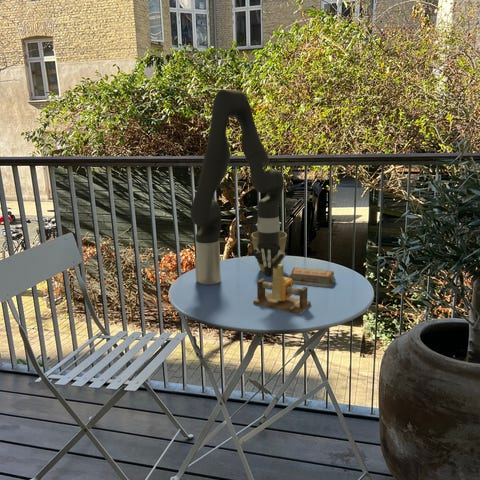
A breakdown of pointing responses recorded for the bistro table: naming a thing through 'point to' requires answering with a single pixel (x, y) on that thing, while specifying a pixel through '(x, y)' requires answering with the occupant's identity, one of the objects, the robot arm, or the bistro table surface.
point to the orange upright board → (283, 289)
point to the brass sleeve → (278, 282)
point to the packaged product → (312, 277)
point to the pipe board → (287, 305)
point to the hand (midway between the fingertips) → (268, 276)
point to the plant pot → (281, 244)
